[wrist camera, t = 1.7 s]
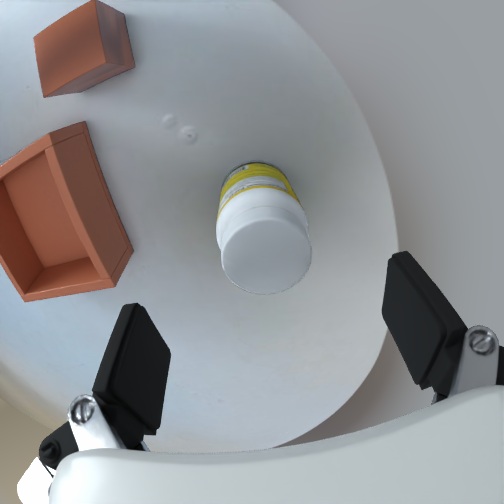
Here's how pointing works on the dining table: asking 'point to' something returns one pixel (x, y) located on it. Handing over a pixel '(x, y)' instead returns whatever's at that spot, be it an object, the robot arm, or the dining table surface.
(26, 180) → the terracotta bin
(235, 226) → the supplement bottle
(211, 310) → the dining table surface
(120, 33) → the block
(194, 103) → the dining table surface
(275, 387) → the dining table surface
